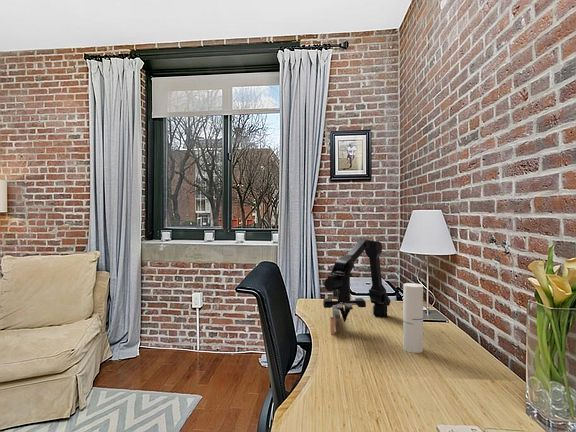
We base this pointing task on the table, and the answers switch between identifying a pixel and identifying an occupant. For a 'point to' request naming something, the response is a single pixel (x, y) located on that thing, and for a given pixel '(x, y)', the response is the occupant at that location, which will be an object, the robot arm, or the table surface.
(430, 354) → the table surface
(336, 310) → the gate
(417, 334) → the cylindrical container
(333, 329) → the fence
